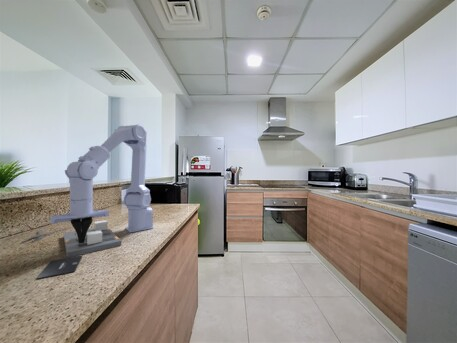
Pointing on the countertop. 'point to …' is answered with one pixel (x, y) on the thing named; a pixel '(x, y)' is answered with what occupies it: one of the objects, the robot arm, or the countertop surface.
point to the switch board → (77, 249)
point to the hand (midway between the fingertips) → (81, 242)
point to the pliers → (39, 236)
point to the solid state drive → (60, 267)
